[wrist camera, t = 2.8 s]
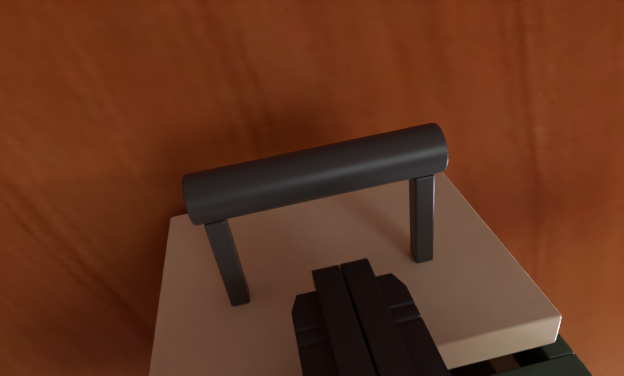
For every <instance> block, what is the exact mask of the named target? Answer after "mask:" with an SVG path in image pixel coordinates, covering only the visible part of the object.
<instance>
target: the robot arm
mask: <svg viewBox="0 0 624 376" xmlns="http://www.w3.org/2000/svg"><path fill="white" fill-rule="evenodd" d="M312 277H313V283H314V288H315V291H312V292H308V293H304V294H299V295H296V298H295V301H294V305H293V308H292V311H291V314H292V320H293V325H294V330H295V336H296V341H297V346H298V352H299V358H300V363H301V368H302V374H303V376H452V375H451V374H450V372H449V370H448V369H447V367H446V365H445V363H444V361H443V359H442V357H441V355H440V353H439V351H438V349H437V347H436V345H435V343H434V341H433V339H432V336H431V334H430V332H429V330H428V328H427V326H426V324H425V322H424V320H423V318H421V314H420V312H419V310H418V308H417V306H416V305H415V303H414V300H413V298H412V296H411V294H410V292H409V290H408V288H407V286H406V285H405V284H404V283H403V282H402V281H400V280H399V279H398V278H397V277H396V276H394V275H393V274H392V273H389V274H384V275H380V276H375V274H374V272H373V269H372V267H371V265H370V262H369V260H368V259H367V258H364V259H359V260H355V261H351V262H346V263H342V264H340V267H339V265H334V266H330V267H325V268H321V269H316V270H312Z"/></svg>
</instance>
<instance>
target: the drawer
mask: <svg viewBox="0 0 624 376" xmlns="http://www.w3.org/2000/svg"><path fill="white" fill-rule="evenodd" d="M447 165H448V147H447V143H446V139H445V136H444V134H443V132H442V130H441V128H440V127H439V126H438V125H437V124H436V123H429V124H424V125H419V126H414V127H410V128H405V129H400V130H395V131H391V132H386V133H381V134H376V135H372V136H367V137H362V138H357V139H352V140H348V141H343V142H338V143H333V144H329V145H324V146H319V147H314V148H310V149H305V150H300V151H295V152H290V153H286V154H281V155H276V156H271V157H267V158H262V159H257V160H252V161H248V162H243V163H238V164H233V165H229V166H224V167H219V168H214V169H209V170H205V171H200V172H195V173H190V174H186V175H184V176H183V178H182V192H183V198H184V203H185V207H186V210H187V213H188V214H183V215H179V216H174V217H171V218H170V225H169V233H168V240H167V247H166V255H165V262H164V269H163V276H162V284H161V291H160V298H159V306H158V313H157V320H156V328H155V335H154V342H153V349H152V357H151V364H150V371H149V376H303V374H302V368H301V363H300V358H299V352H298V346H297V341H296V336H295V330H294V325H293V320H292V314H291V311H292V308H293V305H294V301H295V298H296V295H299V294H304V293H308V292H312V291H315V288H314V283H313V277H312V270H316V269H321V268H325V267H330V266H334V265H339V267H340V264H342V263H346V262H351V261H355V260H359V259H364V258H367V259H368V260H369V262H370V265H371V267H372V269H373V272H374V274H375V276H380V275H384V274H389V273H392V274H393V275H394V276H396V277H397V278H398V279H399V280H400V281H402V282H403V283H404V284H405V285H406V286H407V288H408V290H409V292H410V294H411V296H412V298H413V300H414V303H415V305H416V306H417V308H418V310H419V312H420V314H421V318H423V320H424V322H425V324H426V326H427V328H428V330H429V332H430V334H431V336H432V339H433V341H434V343H435V345H436V347H437V349H438V351H439V353H440V355H441V357H442V359H443V361H444V363H445V365H446V367H447V369H448V370H449V372H450V374H451V375H452V376H488V375H492V374H496V373H500V372H504V371H507V370H511V369H515V368H519V367H520V365H519V364H518V362H517V361H516V359H515V358H514V356H513V355H512V353H515V352H519V351H523V350H527V349H531V348H535V347H539V346H543V345H547V344H551V343H554V342H555V341H556V338H557V334H558V330H559V326H560V322H561V318H562V316H561V314H560V312H559V311H558V310H557V309H556V308H555V306H554V305H553V304H552V303H551V302H550V300H549V299H548V298H547V297H546V296H545V294H544V293H543V292H542V291H541V290H540V288H539V287H538V286H537V285H536V284H535V282H534V281H533V280H532V279H531V278H530V276H529V275H528V274H527V273H526V272H525V270H524V269H523V268H522V267H521V266H520V264H519V263H518V262H517V261H516V260H515V258H514V257H513V256H512V255H511V254H510V252H509V251H508V250H507V249H506V248H505V246H504V245H503V244H502V243H501V242H500V240H499V239H498V238H497V237H496V235H495V234H494V233H493V232H492V231H491V229H490V228H489V227H488V226H487V225H486V223H485V222H484V221H483V220H482V219H481V217H480V216H479V215H478V214H477V213H476V211H475V210H474V209H473V208H472V207H471V205H470V204H469V203H468V202H467V201H466V199H465V198H464V197H463V196H462V195H461V193H460V192H459V191H458V190H457V189H456V187H455V186H454V185H453V184H452V183H451V181H450V180H449V179H448V178H447V177H446V175H445V174H444V173H443V171H445V170H446V168H447Z"/></svg>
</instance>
